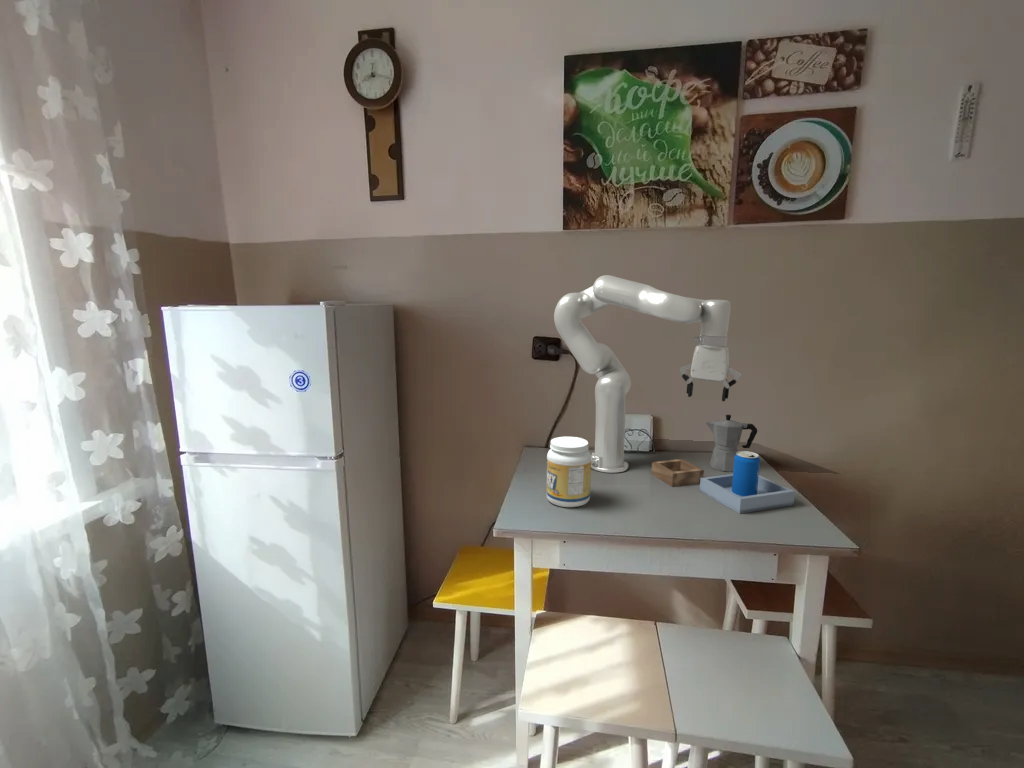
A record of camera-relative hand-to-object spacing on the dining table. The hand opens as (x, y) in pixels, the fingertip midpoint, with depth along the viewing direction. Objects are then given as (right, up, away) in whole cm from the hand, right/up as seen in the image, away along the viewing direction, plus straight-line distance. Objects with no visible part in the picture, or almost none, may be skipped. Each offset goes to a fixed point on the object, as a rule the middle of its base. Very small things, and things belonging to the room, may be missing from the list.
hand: (706, 398), depth 152 cm
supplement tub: (-43, -28, -11) cm, 53 cm away
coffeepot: (+13, -24, +14) cm, 30 cm away
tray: (+7, -28, -10) cm, 30 cm away
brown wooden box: (-7, -25, +5) cm, 27 cm away
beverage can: (+7, -27, -10) cm, 30 cm away
